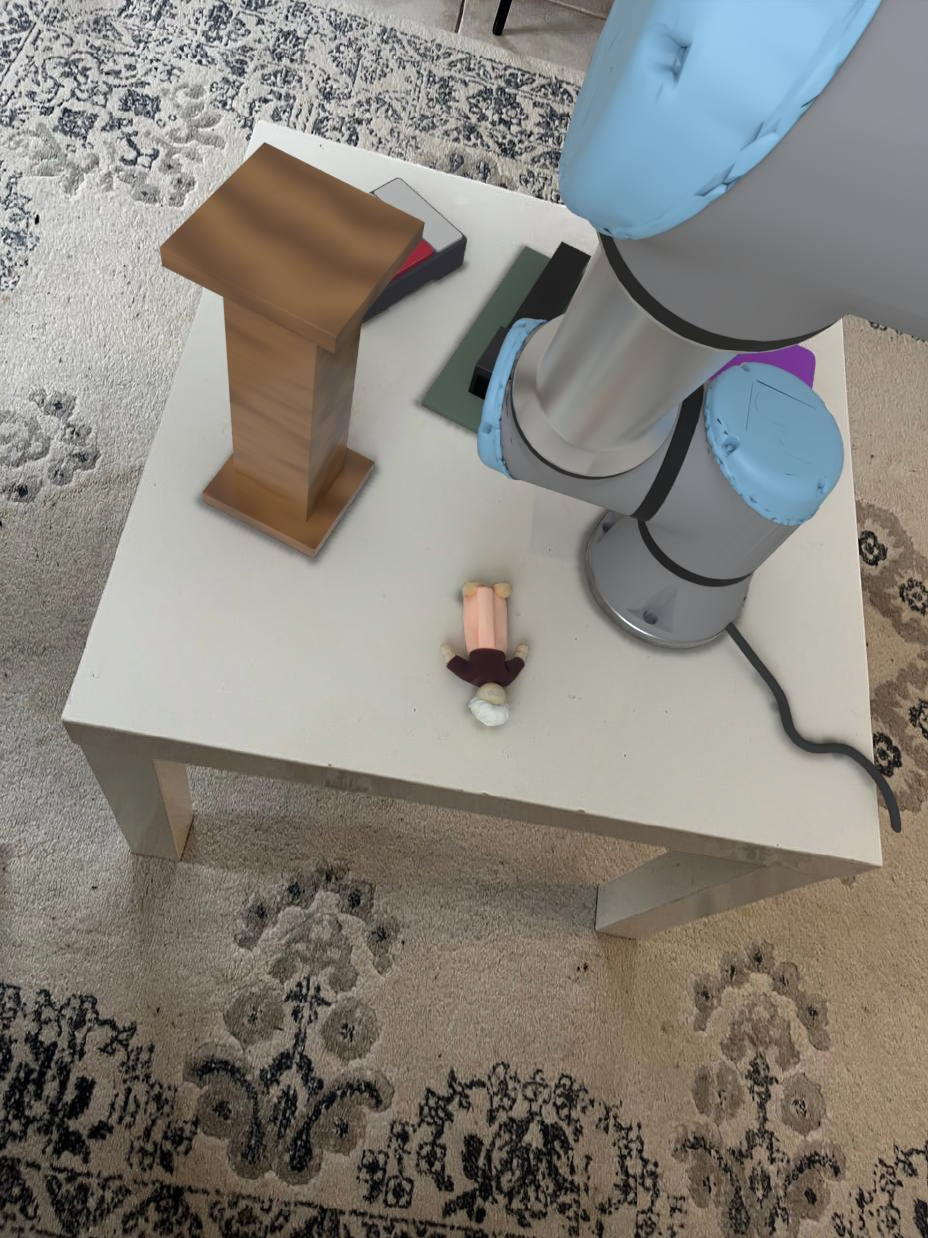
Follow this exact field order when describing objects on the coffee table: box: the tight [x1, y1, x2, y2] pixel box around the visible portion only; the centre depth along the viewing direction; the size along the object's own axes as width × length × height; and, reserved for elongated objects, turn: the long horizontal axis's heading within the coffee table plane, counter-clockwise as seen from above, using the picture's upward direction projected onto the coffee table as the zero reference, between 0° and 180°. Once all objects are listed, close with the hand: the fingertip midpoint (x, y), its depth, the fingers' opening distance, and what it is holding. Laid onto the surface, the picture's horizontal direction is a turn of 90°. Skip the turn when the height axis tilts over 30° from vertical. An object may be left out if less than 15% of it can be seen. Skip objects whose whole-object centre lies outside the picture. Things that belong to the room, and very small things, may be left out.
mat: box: [421, 245, 580, 434], centre depth 93 cm, size 26×11×1 cm, turn 155°
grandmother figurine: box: [439, 581, 530, 727], centre depth 75 cm, size 8×4×13 cm
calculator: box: [362, 177, 468, 323], centre depth 93 cm, size 11×4×15 cm
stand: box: [159, 141, 425, 560], centre depth 68 cm, size 12×12×28 cm
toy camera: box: [708, 344, 817, 389], centre depth 90 cm, size 11×14×10 cm
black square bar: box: [468, 241, 592, 400], centre depth 92 cm, size 22×4×4 cm, turn 155°
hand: (698, 51), depth 72 cm, fingers open, 13 cm apart
